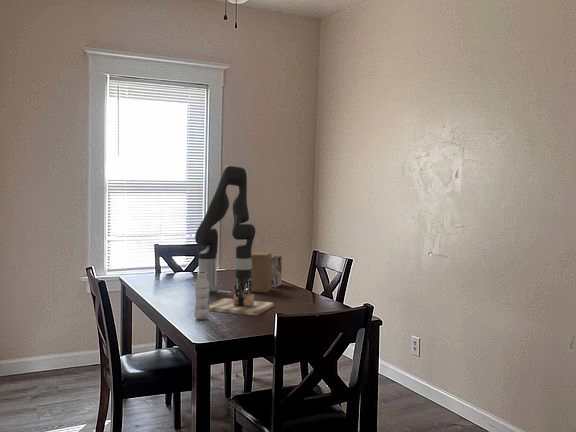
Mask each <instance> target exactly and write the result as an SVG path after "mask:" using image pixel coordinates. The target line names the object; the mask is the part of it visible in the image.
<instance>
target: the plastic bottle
mask: <svg viewBox="0 0 576 432" xmlns="http://www.w3.org/2000/svg"><path fill="white" fill-rule="evenodd" d="M197 273H198V277H199V278H198V280H197V279H196V281H195V283H194V291H195V308H194V313H193V314H194V317H195V319H197V320H202V321H203V320H207V319H210V317H211V315H210V314H211V311H210V309H209V304H210V300H209V299H210V293H211V292H210V282H209V281H208V280H207V278H206V277H207V272H199V271H198V272H197Z"/></svg>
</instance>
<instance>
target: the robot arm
mask: <svg viewBox="0 0 576 432" xmlns="http://www.w3.org/2000/svg"><path fill="white" fill-rule="evenodd" d="M247 181H248V177H247V171H246V169H245V168H244V167H241V166H235V165H225V167H224V168H223V170H222V173H221V175H220V178H219V182H218V184H217V188H216V190H215V192H214V195H213V197H212V199H211V201H210V203H209V206H208V209H207V211H206V213H205V215H204V217H203V219H202V221H201V222H200V224H199V225H198V228H197V230H196V231H195V234H194V235H195V236H194V239H195V243H196V244H197V245H198V246H206V248H205V249H204V250H201V251H200V252H199V253H198V272H207V277H206V278H207V280H208V281H209V282H210V292H209V293H212V292H216V291H217V255H218V248H219V247H218V246H219V245H218V244H219V243H218V242H219V234H218V233H219V232H218V230H217V228H215V227H214V226H215V225H217V224H218V223H219V222H220V221H221V220H222V219H224V217H225V216H226V215H227V214H226V213H227V212H228V210H229V207H230V199H229V197H228V194H227V188H228V186H234V187H238V193H237V194H236V197H235V198H234V200H233V202H232V214H233V226H232V230H231V235H232V238H234V239H235V240H237V241H241V240H242V241H243V240H244V241H245V240H246V241H245V242H244V243H243V244H238V245H236V247H235V261H234V262H235V263H234V264H235V265H234V266H235V267H234V268H235V269H234V271H235V273H234V274H235V278H236V279H237V280H238V281H237V284H236V283H235V284H234V290H235V292H234V293H235V294H236V297H238V305H239V306H243V296H244V294H252V292H251V284H252V280H249V279H250V278H251V277H252V260H251V254H252V248H253V244H254V243H253V242H254V239H255V236H256V227H255V226H254V224H252V223H248V224H247V223H246V222H248V221H249V220H250V216H249V215H250V214H249V207H248V200H247V199H248V197H247V196H248V194H247V193H248V191H247V190H248V189H247V188H248V186H247V185H248V183H247ZM245 223H246V224H245ZM198 272H197V273H196V281H197V280H198V278H199V277H198Z"/></svg>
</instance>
